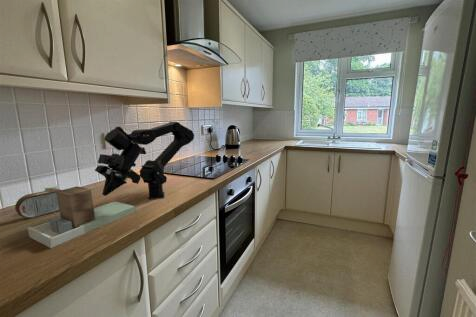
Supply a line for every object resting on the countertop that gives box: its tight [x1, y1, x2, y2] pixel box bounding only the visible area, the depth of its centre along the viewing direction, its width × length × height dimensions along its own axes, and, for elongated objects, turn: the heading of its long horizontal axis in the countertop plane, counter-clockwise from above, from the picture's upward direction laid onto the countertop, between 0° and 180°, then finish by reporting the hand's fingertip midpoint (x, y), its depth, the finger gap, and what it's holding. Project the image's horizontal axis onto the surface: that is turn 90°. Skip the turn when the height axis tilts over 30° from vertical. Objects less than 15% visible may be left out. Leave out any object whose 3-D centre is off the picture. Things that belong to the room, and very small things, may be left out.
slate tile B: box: [49, 215, 63, 233], centre depth 72 cm, size 4×4×2 cm
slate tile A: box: [57, 219, 73, 234], centre depth 69 cm, size 4×4×2 cm
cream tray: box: [27, 221, 86, 249], centre depth 70 cm, size 9×13×3 cm, turn 60°
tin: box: [14, 188, 62, 219], centre depth 85 cm, size 15×3×8 cm, turn 141°
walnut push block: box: [56, 186, 95, 227], centre depth 74 cm, size 6×8×10 cm
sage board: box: [72, 200, 136, 234], centre depth 81 cm, size 18×12×2 cm, turn 150°
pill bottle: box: [44, 184, 59, 191], centre depth 92 cm, size 5×5×8 cm
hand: (103, 195), depth 81 cm, fingers closed
